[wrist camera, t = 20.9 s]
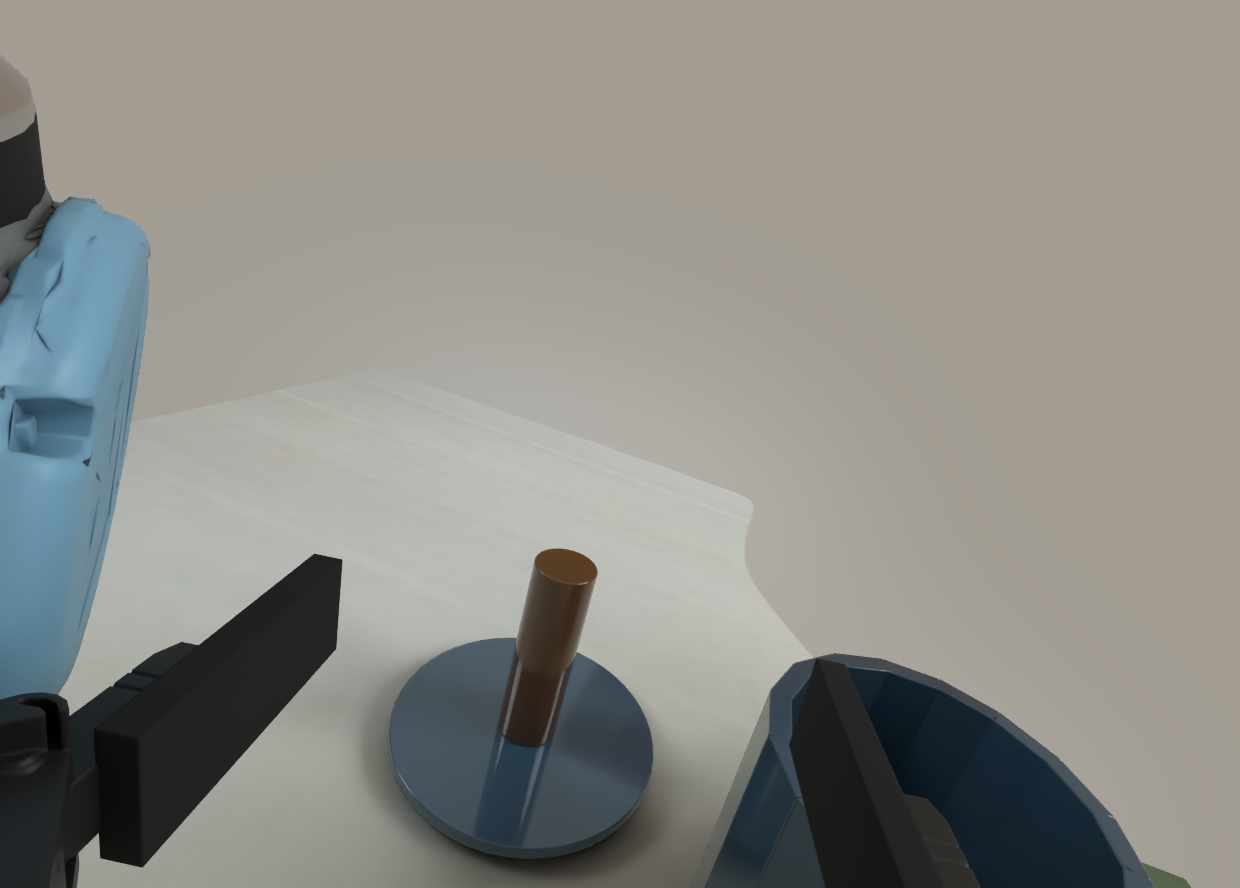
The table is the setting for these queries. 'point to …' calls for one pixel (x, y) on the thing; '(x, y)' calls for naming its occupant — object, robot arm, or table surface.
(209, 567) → the table surface
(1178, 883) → the block
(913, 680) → the canister
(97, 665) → the table surface
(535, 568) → the lid
